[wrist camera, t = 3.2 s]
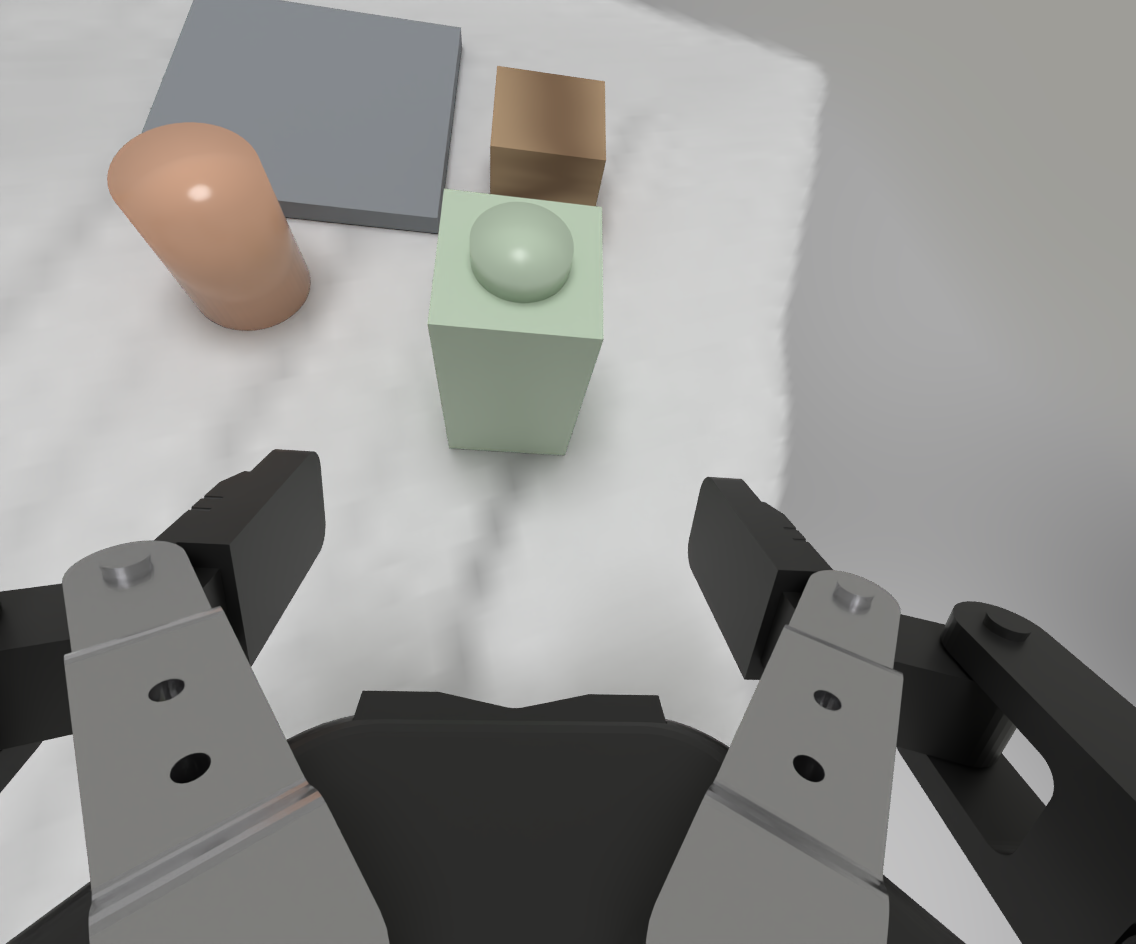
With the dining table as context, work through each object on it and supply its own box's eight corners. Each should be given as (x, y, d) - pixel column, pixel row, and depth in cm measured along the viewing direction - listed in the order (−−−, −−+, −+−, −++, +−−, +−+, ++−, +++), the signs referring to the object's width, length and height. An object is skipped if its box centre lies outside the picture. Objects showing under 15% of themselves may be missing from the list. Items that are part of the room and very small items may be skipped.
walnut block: (490, 233, 28) (490, 145, 24) (495, 160, 30) (497, 65, 25) (587, 243, 29) (605, 160, 24) (587, 171, 31) (604, 81, 26)
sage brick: (449, 448, 24) (424, 306, 15) (458, 348, 26) (442, 166, 17) (564, 455, 25) (608, 322, 15) (566, 357, 26) (606, 186, 17)
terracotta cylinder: (179, 325, 24) (88, 219, 19) (207, 235, 26) (130, 113, 20) (299, 335, 25) (245, 235, 19) (318, 246, 27) (274, 131, 21)
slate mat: (134, 200, 26) (122, 183, 25) (206, 8, 31) (198, -13, 30) (439, 233, 28) (437, 218, 27) (461, 46, 33) (460, 27, 32)
